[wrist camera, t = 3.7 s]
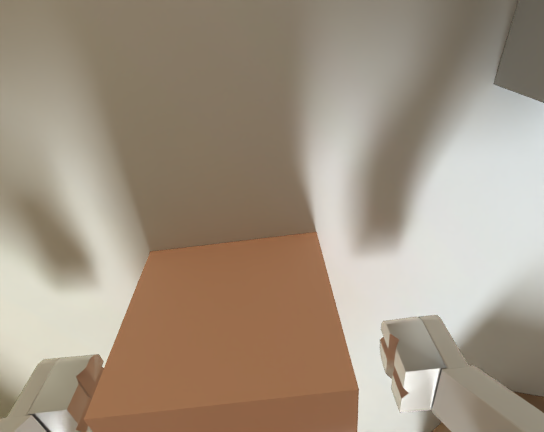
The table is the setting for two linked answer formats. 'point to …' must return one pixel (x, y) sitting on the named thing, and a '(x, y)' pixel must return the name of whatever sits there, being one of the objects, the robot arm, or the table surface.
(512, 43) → the slate grey cube
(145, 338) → the terracotta cube
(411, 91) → the table surface
